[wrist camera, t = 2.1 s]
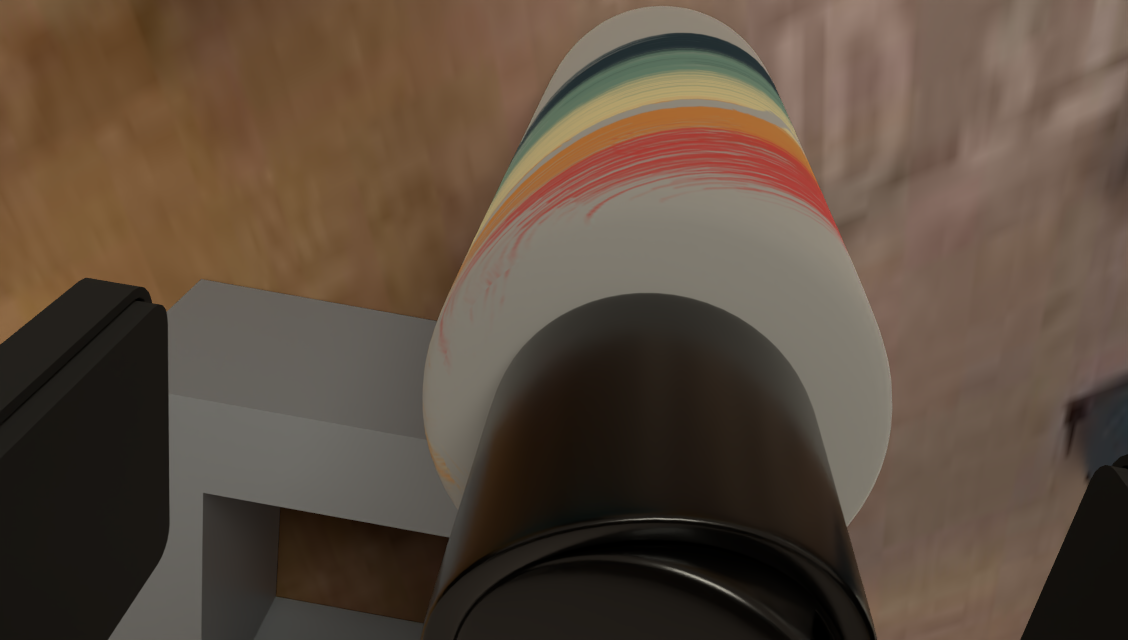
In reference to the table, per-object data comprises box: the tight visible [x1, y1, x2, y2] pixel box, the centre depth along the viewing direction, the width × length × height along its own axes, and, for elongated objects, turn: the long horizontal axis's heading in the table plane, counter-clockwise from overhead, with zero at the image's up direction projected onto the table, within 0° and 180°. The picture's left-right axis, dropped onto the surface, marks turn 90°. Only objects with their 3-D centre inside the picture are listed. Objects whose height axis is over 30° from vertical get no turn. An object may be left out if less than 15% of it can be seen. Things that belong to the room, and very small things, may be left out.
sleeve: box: [108, 279, 458, 640], centre depth 29 cm, size 13×13×6 cm
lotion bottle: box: [420, 6, 892, 640], centre depth 17 cm, size 6×6×20 cm
